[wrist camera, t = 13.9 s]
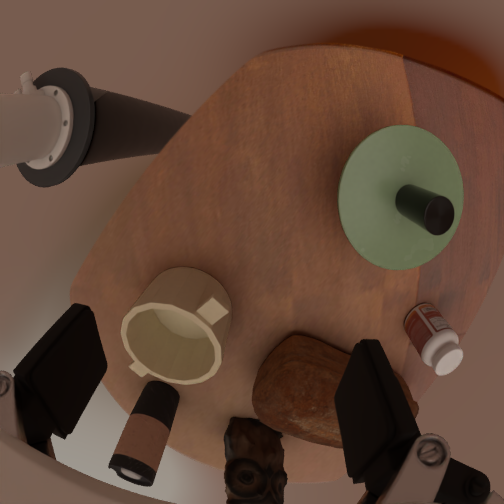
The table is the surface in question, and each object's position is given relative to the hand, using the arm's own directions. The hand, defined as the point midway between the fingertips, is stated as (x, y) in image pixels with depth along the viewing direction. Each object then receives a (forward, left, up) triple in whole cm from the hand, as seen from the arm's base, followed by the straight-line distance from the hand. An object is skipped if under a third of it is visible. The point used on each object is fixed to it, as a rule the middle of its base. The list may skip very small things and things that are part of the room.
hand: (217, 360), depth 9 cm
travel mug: (+26, -31, -27) cm, 48 cm away
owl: (+43, -20, -27) cm, 54 cm away
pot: (+10, -15, -26) cm, 32 cm away
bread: (+32, +1, -27) cm, 41 cm away
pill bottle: (+26, +17, -27) cm, 41 cm away
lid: (+3, +14, -17) cm, 22 cm away
